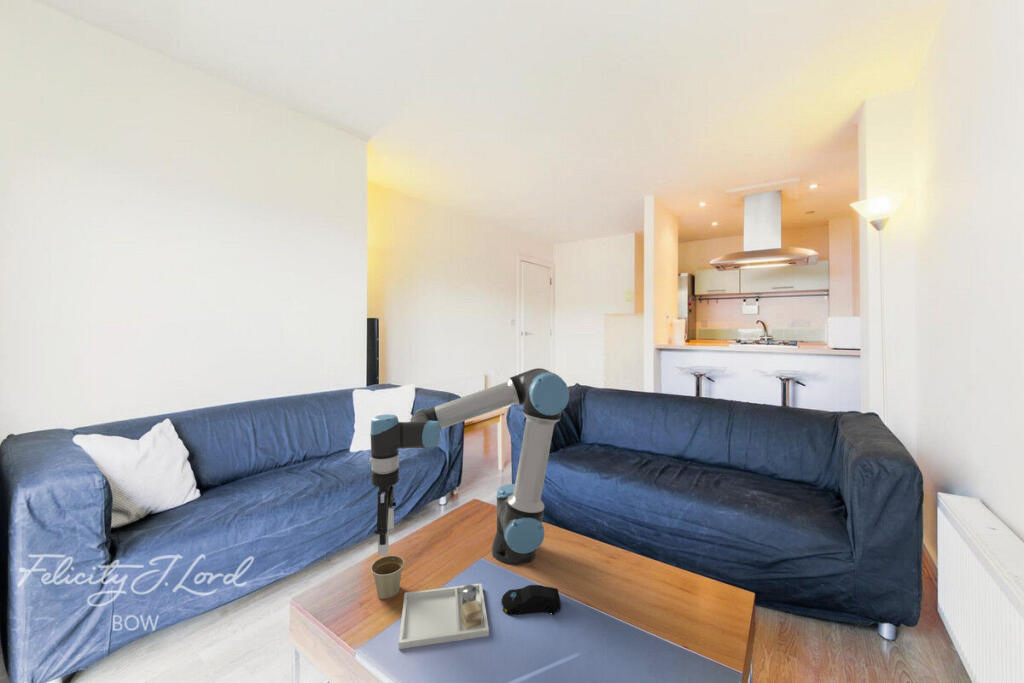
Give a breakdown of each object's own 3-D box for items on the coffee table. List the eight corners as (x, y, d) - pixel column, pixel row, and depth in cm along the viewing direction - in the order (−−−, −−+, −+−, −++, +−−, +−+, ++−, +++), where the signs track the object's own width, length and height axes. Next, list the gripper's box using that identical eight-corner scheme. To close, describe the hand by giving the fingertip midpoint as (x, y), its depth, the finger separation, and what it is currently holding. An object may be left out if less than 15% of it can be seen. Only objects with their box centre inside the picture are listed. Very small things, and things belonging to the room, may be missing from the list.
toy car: (500, 599, 115) (500, 582, 115) (557, 596, 117) (557, 579, 116) (502, 619, 108) (502, 601, 108) (563, 615, 109) (563, 597, 109)
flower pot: (395, 606, 112) (394, 576, 112) (364, 602, 114) (364, 572, 114) (410, 584, 122) (409, 557, 121) (381, 580, 124) (381, 553, 123)
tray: (481, 590, 119) (481, 583, 119) (488, 638, 101) (488, 629, 101) (404, 600, 115) (404, 592, 115) (398, 651, 97) (398, 642, 97)
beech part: (475, 614, 109) (475, 600, 108) (481, 624, 105) (480, 609, 105) (461, 619, 107) (461, 604, 107) (466, 629, 103) (466, 614, 103)
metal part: (475, 597, 115) (475, 584, 115) (477, 607, 111) (476, 593, 111) (461, 599, 114) (461, 585, 114) (462, 609, 110) (462, 595, 110)
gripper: (378, 455, 127) (379, 520, 129) (363, 488, 103) (365, 568, 104) (402, 454, 129) (403, 518, 130) (394, 486, 104) (395, 565, 105)
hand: (386, 540), depth 117 cm, fingers open, 13 cm apart
